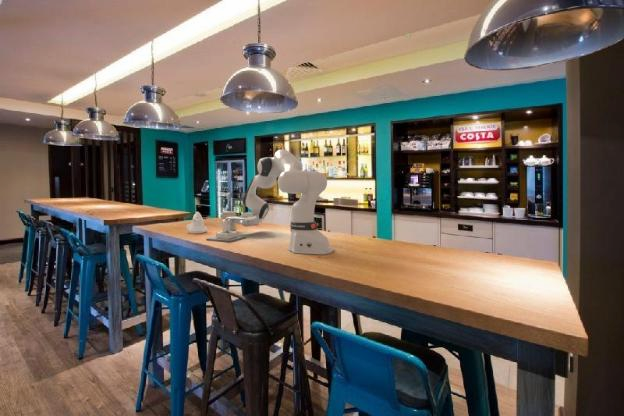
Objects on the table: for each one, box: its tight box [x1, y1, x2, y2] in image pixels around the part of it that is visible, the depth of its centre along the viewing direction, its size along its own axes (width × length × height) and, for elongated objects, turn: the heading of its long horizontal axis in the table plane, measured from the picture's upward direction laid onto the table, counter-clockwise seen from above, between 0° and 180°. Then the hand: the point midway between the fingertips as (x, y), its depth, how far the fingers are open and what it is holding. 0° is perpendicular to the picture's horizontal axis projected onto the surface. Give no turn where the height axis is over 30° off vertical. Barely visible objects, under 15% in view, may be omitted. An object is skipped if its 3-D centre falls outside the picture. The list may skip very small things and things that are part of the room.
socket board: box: [205, 230, 247, 243], centre depth 204 cm, size 16×16×4 cm
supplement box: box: [221, 210, 237, 232], centre depth 233 cm, size 8×5×13 cm, turn 84°
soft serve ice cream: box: [186, 211, 208, 234], centre depth 229 cm, size 12×15×14 cm
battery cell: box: [221, 219, 230, 233], centre depth 204 cm, size 4×4×11 cm
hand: (234, 222), depth 211 cm, fingers open, 8 cm apart
